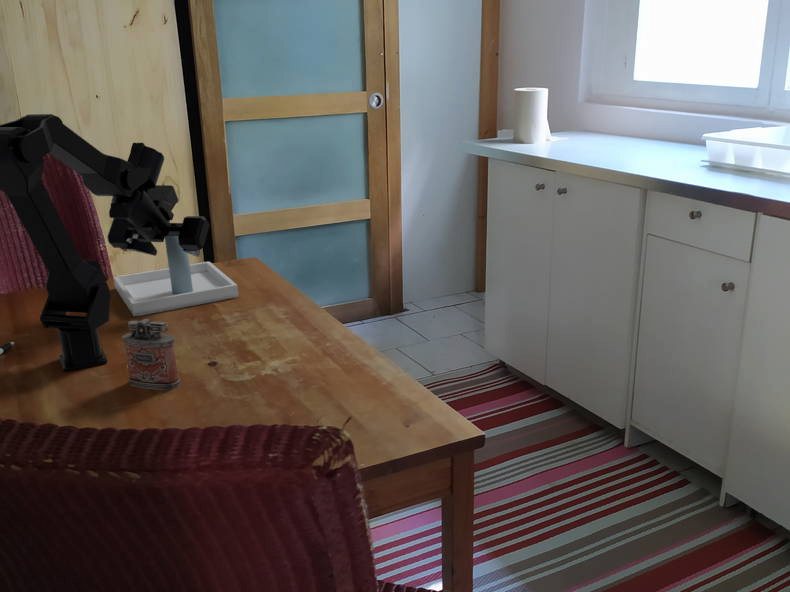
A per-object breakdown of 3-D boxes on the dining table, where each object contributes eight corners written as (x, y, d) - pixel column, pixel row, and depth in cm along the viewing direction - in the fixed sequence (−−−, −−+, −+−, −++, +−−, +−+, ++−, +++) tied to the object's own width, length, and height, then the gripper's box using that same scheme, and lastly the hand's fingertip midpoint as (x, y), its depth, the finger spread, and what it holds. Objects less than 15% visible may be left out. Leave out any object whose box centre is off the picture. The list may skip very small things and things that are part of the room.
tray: (238, 297, 149) (237, 285, 148) (134, 316, 140) (132, 304, 139) (210, 272, 166) (209, 261, 165) (115, 288, 157) (113, 277, 156)
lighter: (124, 386, 112) (114, 322, 108) (138, 376, 115) (128, 314, 112) (172, 391, 109) (163, 327, 106) (185, 381, 112) (176, 318, 109)
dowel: (197, 289, 152) (189, 229, 148) (183, 295, 149) (175, 233, 145) (181, 287, 154) (174, 227, 150) (167, 293, 151) (159, 232, 147)
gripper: (199, 173, 137) (230, 220, 150) (106, 173, 141) (145, 218, 154) (183, 226, 132) (217, 269, 145) (88, 224, 136) (130, 266, 149)
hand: (177, 254), depth 149 cm, fingers open, 9 cm apart
